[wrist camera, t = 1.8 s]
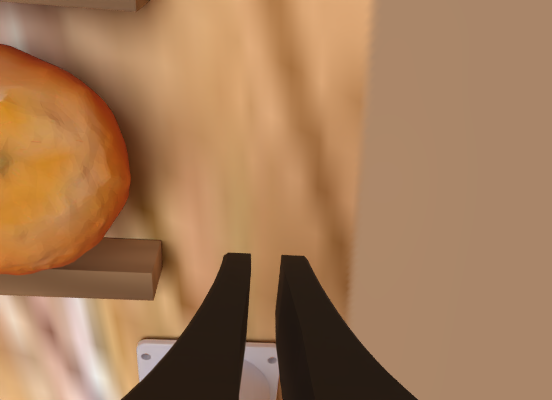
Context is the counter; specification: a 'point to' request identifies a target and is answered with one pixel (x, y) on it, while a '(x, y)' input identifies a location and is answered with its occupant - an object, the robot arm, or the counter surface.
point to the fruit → (54, 165)
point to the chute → (109, 251)
